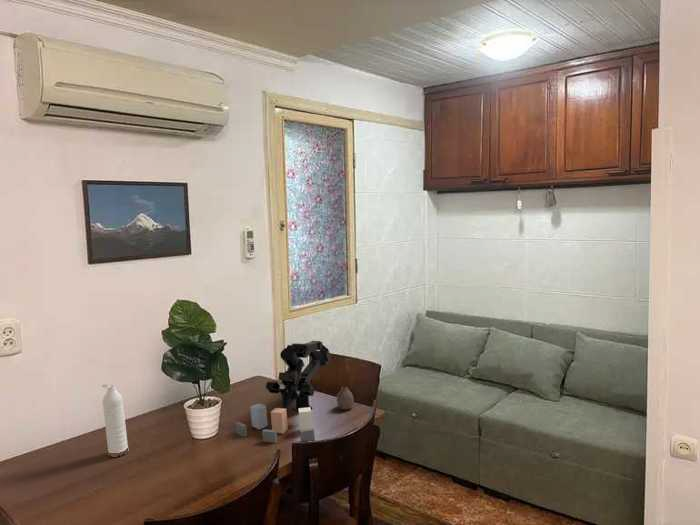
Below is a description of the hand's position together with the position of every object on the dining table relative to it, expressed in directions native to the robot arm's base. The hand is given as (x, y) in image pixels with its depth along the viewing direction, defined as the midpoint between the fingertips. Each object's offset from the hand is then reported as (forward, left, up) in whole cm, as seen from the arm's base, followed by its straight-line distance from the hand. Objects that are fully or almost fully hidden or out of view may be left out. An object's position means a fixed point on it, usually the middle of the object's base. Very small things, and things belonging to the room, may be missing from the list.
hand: (284, 409), depth 204 cm
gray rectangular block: (-5, -9, -7) cm, 12 cm away
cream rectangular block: (+9, +5, -7) cm, 12 cm away
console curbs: (+7, -7, -7) cm, 12 cm away
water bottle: (-13, -59, -7) cm, 61 cm away
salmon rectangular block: (+4, -4, -7) cm, 8 cm away
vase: (-2, +27, -7) cm, 28 cm away
